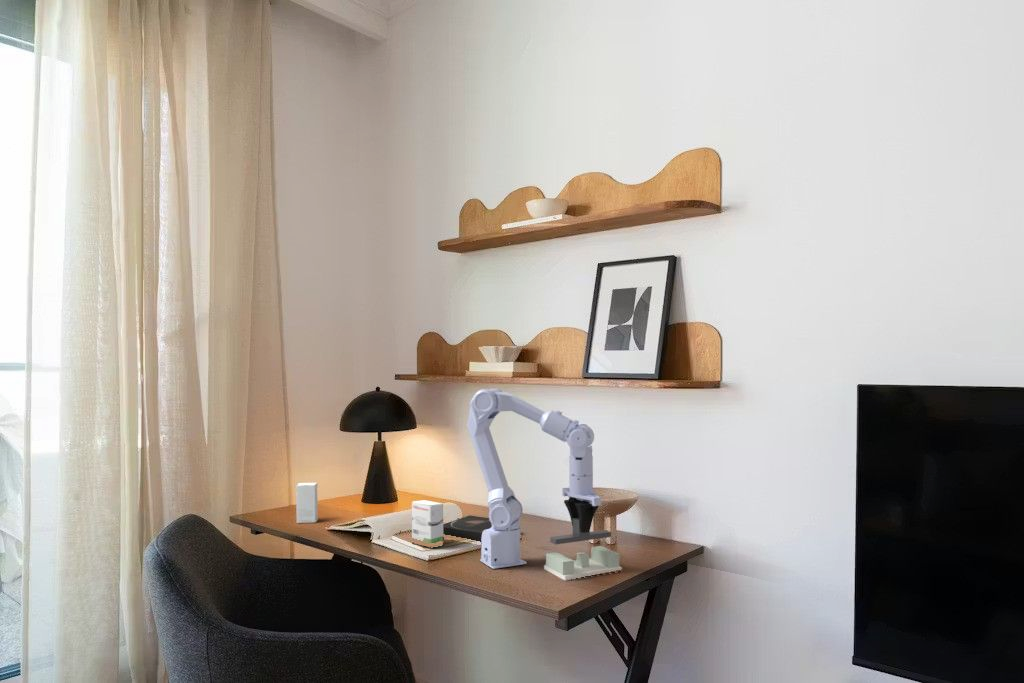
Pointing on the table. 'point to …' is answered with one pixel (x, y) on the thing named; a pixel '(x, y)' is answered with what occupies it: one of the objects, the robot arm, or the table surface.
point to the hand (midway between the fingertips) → (581, 530)
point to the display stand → (582, 563)
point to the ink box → (427, 521)
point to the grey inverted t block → (579, 535)
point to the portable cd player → (467, 527)
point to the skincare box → (306, 502)
